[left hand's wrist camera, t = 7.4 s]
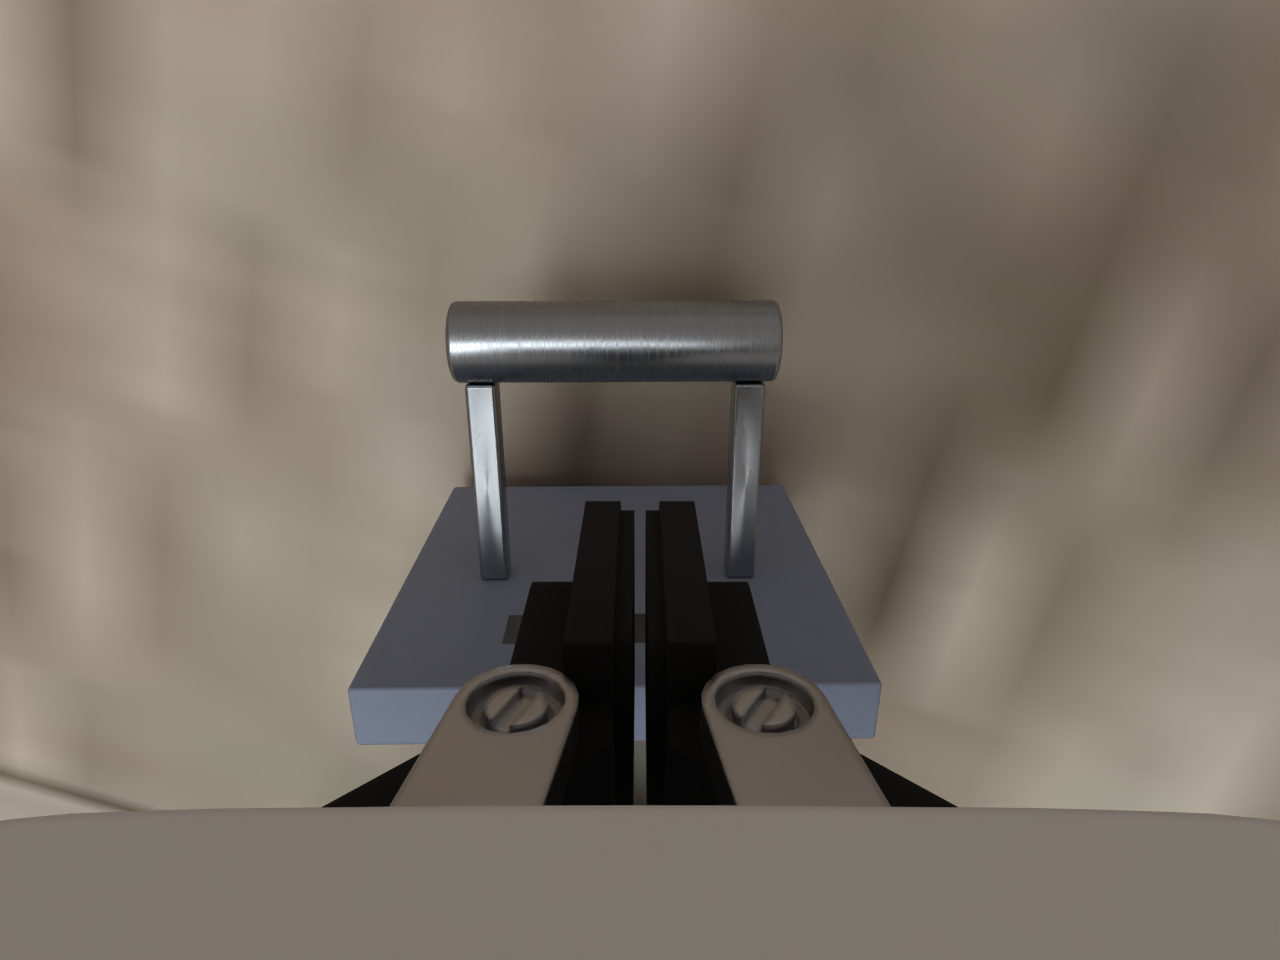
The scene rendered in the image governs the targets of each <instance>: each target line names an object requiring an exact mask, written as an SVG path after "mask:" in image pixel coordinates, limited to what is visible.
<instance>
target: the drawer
mask: <svg viewBox="0 0 1280 960" xmlns="http://www.w3.org/2000/svg"><path fill="white" fill-rule="evenodd" d="M782 342H783V330H782V317H781V312H780V309H779V305H778V303H777V302H775V301H772V300H759V301H456V302H453V303H451V305H450V307H449V310H448V313H447V319H446V353H447V360H448V365H449V369H450V372H451V375H452V377H453V379H454V380H455V381H456V382H459V383H467V385H466V387H465V393H466V405H467V417H468V429H469V441H470V454H471V466H472V478H473V487H455V488H454V489H453V491H452V493H451V495H450V497H449V499H448V501H447V503H446V504H445V506H444V508H443V510H442V512H441V514H440V516H439V518H438V520H437V522H436V523H435V525H434V527H433V529H432V531H431V533H430V535H429V537H428V539H427V541H426V542H425V544H424V546H423V548H422V550H421V552H420V554H419V556H418V558H417V560H416V561H415V563H414V565H413V567H412V569H411V571H410V573H409V575H408V577H407V579H406V580H405V582H404V584H403V586H402V588H401V590H400V592H399V594H398V596H397V598H396V599H395V601H394V603H393V605H392V607H391V609H390V611H389V613H388V615H387V617H386V618H385V620H384V622H383V624H382V626H381V628H380V630H379V632H378V634H377V636H376V638H375V639H374V641H373V643H372V645H371V647H370V649H369V651H368V653H367V655H366V657H365V658H364V660H363V662H362V664H361V666H360V668H359V670H358V672H357V674H356V676H355V677H354V679H353V681H352V683H351V685H350V687H349V689H348V694H349V700H350V706H351V712H352V719H353V725H354V731H355V737H356V743H357V744H359V745H379V744H426V743H427V742H428V740H429V738H430V737H431V735H432V733H433V732H434V730H435V728H436V727H437V725H438V723H439V722H440V720H441V718H442V716H443V715H444V713H445V711H446V710H447V708H448V706H449V705H450V703H451V701H452V700H453V698H454V696H455V695H456V693H457V692H458V691H459V690H460V689H461V688H462V686H463V685H464V684H465V683H467V682H468V681H470V680H471V679H473V678H474V677H476V676H477V675H479V674H481V673H484V672H486V671H489V670H492V669H494V668H497V667H503V666H508V665H510V662H511V658H512V655H513V651H514V647H515V643H516V639H517V635H518V632H519V628H520V624H521V620H522V616H523V612H524V609H525V605H526V601H527V597H528V593H529V589H530V586H531V583H532V582H573V576H574V570H575V564H576V557H577V551H578V545H579V539H580V533H581V527H582V520H583V514H584V508H585V502H586V501H621V510H634V535H635V711H634V805H646V711H645V535H646V510H659V501H694V502H695V508H696V514H697V520H698V527H699V533H700V539H701V545H702V551H703V557H704V564H705V570H706V576H707V582H748V583H749V586H750V589H751V593H752V597H753V601H754V605H755V609H756V612H757V616H758V620H759V624H760V628H761V632H762V635H763V639H764V643H765V647H766V651H767V655H768V658H769V662H770V665H772V666H777V667H783V668H786V669H788V670H791V671H794V672H796V673H799V674H801V675H803V676H804V677H806V678H807V679H809V680H810V681H812V682H813V683H815V684H816V685H817V686H818V688H819V689H820V690H821V691H822V692H823V693H824V695H825V696H826V698H827V700H828V701H829V703H830V705H831V706H832V708H833V710H834V711H835V713H836V715H837V716H838V718H839V720H840V722H841V723H842V725H843V727H844V728H845V730H846V732H847V733H848V735H849V737H850V738H873V737H874V736H875V730H876V722H877V715H878V707H879V700H880V692H881V682H880V680H879V678H878V676H877V674H876V672H875V670H874V668H873V666H872V664H871V662H870V660H869V658H868V656H867V654H866V652H865V650H864V648H863V646H862V644H861V642H860V640H859V638H858V636H857V634H856V632H855V630H854V628H853V626H852V624H851V622H850V620H849V618H848V616H847V614H846V612H845V610H844V608H843V606H842V604H841V602H840V600H839V598H838V596H837V594H836V592H835V590H834V588H833V586H832V584H831V582H830V580H829V578H828V576H827V574H826V572H825V570H824V568H823V566H822V564H821V562H820V560H819V558H818V556H817V554H816V552H815V550H814V548H813V546H812V544H811V542H810V540H809V538H808V536H807V534H806V532H805V530H804V528H803V526H802V524H801V522H800V520H799V518H798V516H797V514H796V512H795V510H794V508H793V506H792V504H791V502H790V500H789V498H788V496H787V494H786V492H785V490H784V488H783V486H782V485H759V481H760V464H761V447H762V430H763V413H764V396H765V385H764V383H763V381H772V380H774V379H776V377H777V374H778V372H779V368H780V363H781V356H782ZM715 381H732V386H731V409H730V432H729V456H728V479H727V485H693V486H553V487H506V479H505V464H504V449H503V433H502V418H501V403H500V388H499V383H506V382H715Z"/></svg>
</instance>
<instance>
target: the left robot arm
mask: <svg viewBox="0 0 1280 960" xmlns="http://www.w3.org/2000/svg"><path fill="white" fill-rule="evenodd" d="M634 711H635V535H634V510H621V501H586V502H585V508H584V514H583V520H582V527H581V533H580V539H579V545H578V551H577V557H576V564H575V570H574V576H573V582H532V583H531V586H530V589H529V593H528V597H527V601H526V605H525V609H524V612H523V616H522V620H521V624H520V628H519V632H518V635H517V639H516V643H515V647H514V651H513V655H512V658H511V662H510V665H508V666H503V667H497V668H494V669H492V670H489V671H486V672H484V673H481V674H479V675H477V676H476V677H474V678H473V679H471V680H470V681H468V682H467V683H465V684H464V685H463V686H462V688H461V689H460V690H459V691H458V692H457V693H456V695H455V696H454V698H453V700H452V701H451V703H450V705H449V706H448V708H447V710H446V711H445V713H444V715H443V716H442V718H441V720H440V722H439V723H438V725H437V727H436V728H435V730H434V732H433V733H432V735H431V737H430V738H429V740H428V742H427V743H426V745H425V747H424V748H423V750H422V752H421V753H420V754H419V755H417V756H415V757H413V758H411V759H409V760H408V761H406V762H404V763H402V764H400V765H398V766H397V767H395V768H393V769H391V770H389V771H387V772H386V773H384V774H382V775H380V776H378V777H376V778H375V779H373V780H371V781H369V782H367V783H365V784H364V785H362V786H360V787H358V788H356V789H354V790H353V791H351V792H349V793H347V794H345V795H343V796H342V797H340V798H338V799H336V800H334V801H332V802H331V803H329V804H327V805H325V806H323V807H321V808H238V809H188V810H160V811H132V812H104V813H75V814H62V815H52V816H41V817H31V818H20V819H10V820H3V821H0V960H1280V821H1277V820H1270V819H1260V818H1249V817H1239V816H1228V815H1218V814H1205V813H1180V812H1151V811H1121V810H1092V809H1047V808H960V807H957V806H955V805H953V804H951V803H949V802H948V801H946V800H944V799H942V798H940V797H938V796H937V795H935V794H933V793H931V792H929V791H927V790H926V789H924V788H922V787H920V786H918V785H916V784H915V783H913V782H911V781H909V780H907V779H905V778H904V777H902V776H900V775H898V774H896V773H894V772H893V771H891V770H889V769H887V768H885V767H883V766H882V765H880V764H878V763H876V762H874V761H872V760H871V759H869V758H867V757H865V756H863V755H861V754H860V753H859V752H858V750H857V748H856V747H855V745H854V743H853V742H852V740H851V738H850V737H849V735H848V733H847V732H846V730H845V728H844V727H843V725H842V723H841V722H840V720H839V718H838V716H837V715H836V713H835V711H834V710H833V708H832V706H831V705H830V703H829V701H828V700H827V698H826V696H825V695H824V693H823V692H822V691H821V690H820V689H819V688H818V686H817V685H816V684H815V683H813V682H812V681H810V680H809V679H807V678H806V677H804V676H803V675H801V674H799V673H796V672H794V671H791V670H788V669H786V668H783V667H777V666H772V665H770V662H769V658H768V655H767V651H766V647H765V643H764V639H763V635H762V632H761V628H760V624H759V620H758V616H757V612H756V609H755V605H754V601H753V597H752V593H751V589H750V586H749V583H748V582H707V576H706V570H705V564H704V557H703V551H702V545H701V539H700V533H699V527H698V520H697V514H696V508H695V502H694V501H659V510H646V535H645V711H646V805H634Z"/></svg>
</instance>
